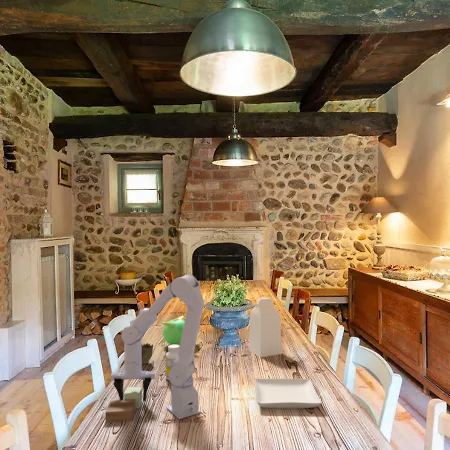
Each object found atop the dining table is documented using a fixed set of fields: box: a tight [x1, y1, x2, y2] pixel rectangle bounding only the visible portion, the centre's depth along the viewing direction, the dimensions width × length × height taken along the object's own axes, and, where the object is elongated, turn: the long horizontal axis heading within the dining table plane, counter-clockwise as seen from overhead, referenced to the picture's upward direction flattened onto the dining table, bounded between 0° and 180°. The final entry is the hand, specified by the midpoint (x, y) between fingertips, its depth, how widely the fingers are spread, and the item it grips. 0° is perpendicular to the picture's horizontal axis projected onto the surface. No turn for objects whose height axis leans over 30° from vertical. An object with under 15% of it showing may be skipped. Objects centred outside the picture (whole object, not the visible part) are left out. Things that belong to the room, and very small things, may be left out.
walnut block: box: [104, 399, 136, 423], centre depth 123 cm, size 8×8×4 cm
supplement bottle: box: [165, 344, 179, 381], centre depth 153 cm, size 7×7×13 cm
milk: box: [248, 297, 283, 358], centre depth 186 cm, size 12×12×26 cm
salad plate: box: [254, 378, 322, 409], centre depth 135 cm, size 21×21×3 cm
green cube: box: [123, 386, 143, 409], centre depth 130 cm, size 5×5×5 cm
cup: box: [142, 342, 154, 365], centre depth 171 cm, size 8×7×8 cm
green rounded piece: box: [161, 315, 186, 346], centre depth 196 cm, size 18×17×15 cm
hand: (133, 400), depth 130 cm, fingers open, 7 cm apart
